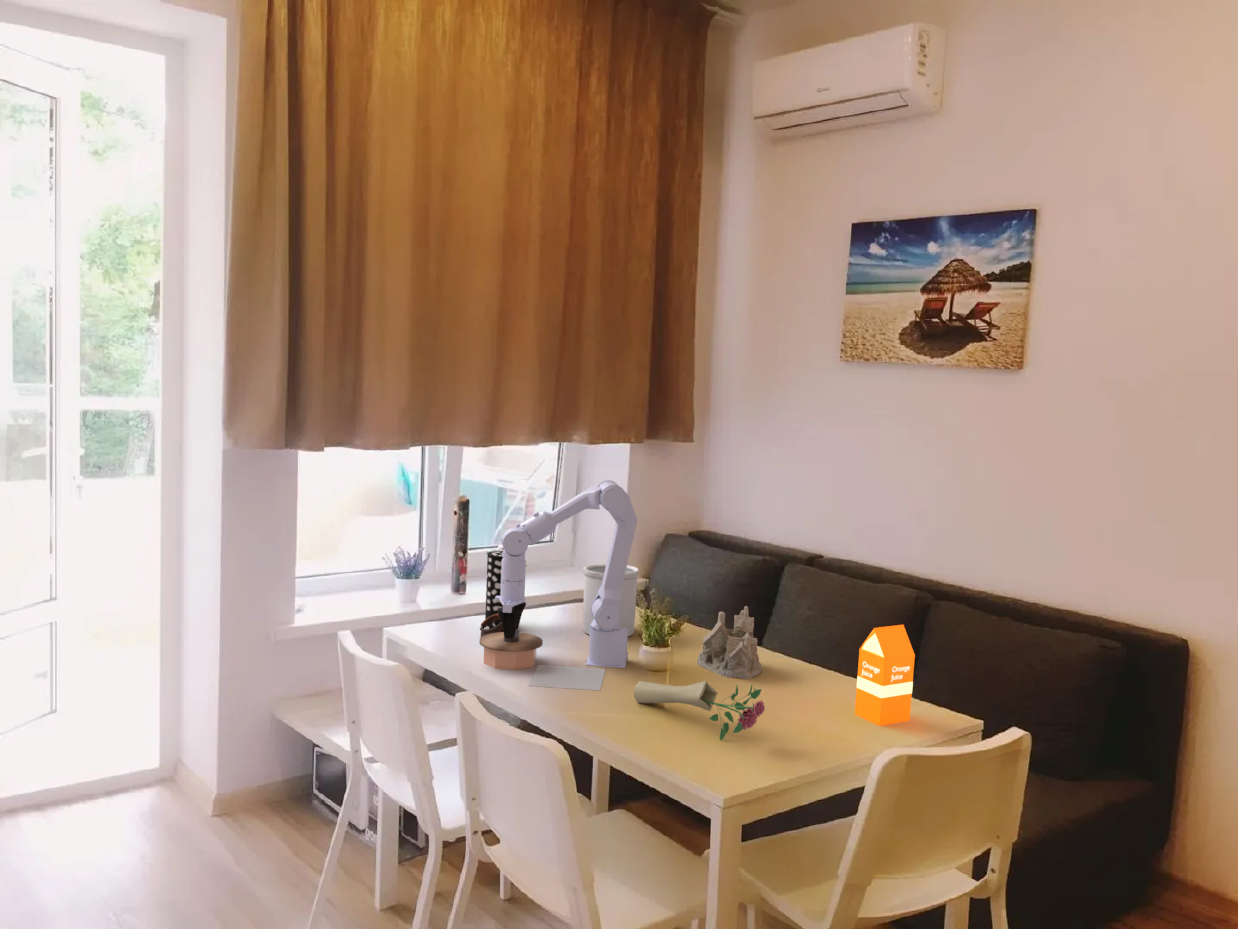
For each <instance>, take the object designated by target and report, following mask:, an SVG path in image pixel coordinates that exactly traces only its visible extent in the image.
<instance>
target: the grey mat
mask: <svg viewBox="0 0 1238 929" xmlns="http://www.w3.org/2000/svg"><path fill="white" fill-rule="evenodd" d="M605 673H606V668H597V667H595V668H592V667H580V666H578V667H577V666H562V665H548V664H538V665H537V668H536V670H535V671H534V673H533V675H532V677H531V680H530V681H529V683H528V686H527V687H536V688H552V689H553V688H555V689H568V690H581V691H583V690H585V691H598V692H600V691H601V688H602V684H603V681H604V677H605Z"/></svg>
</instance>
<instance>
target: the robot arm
mask: <svg viewBox="0 0 1238 929" xmlns="http://www.w3.org/2000/svg"><path fill="white" fill-rule="evenodd" d="M631 500H632V499H631V497H630V496H629V494H628V493H627V492H626V490H624V488H623V487H621V486H620V485H619V484H617V482H615V481H614V480H609V479H606V480H603V481H601V482H600V483H598V484H594V485H592V486H590V487H589V488H586V489H585V490H583V491H582V492H580V493H579V494H576V496H574V497H573V498H571V499H570V500H567V501H566V502H565V503H563V504H562V505H560V506H558V507H557V508H555V509H554V510H552V511H551V512H548V511H543V510H542V511H540V512H539V511H535V512H533V513H532V517H529V518H528V519H527V520H525V521H524V522H522V523H520V522H518V523H515V527H511V528H508V529H506V530H505V531H504V533H503V534H502V537H501V539H500V541H501V544H502V547H503V549H502V551H503V553H502V557H503V559H502V565H501V594H500V596H496V597H495V600H499V601H500V602H501V603H502V606H503V608H498V614H499V616H500V619H501V621H502V626H503V632H504V637H505V638H511V639H513V638H514V636H515V631H516V629H518V630H519V627H520V622H521V619H522V614H523V612H524V610H525V607H526V606H527V602H526V597H525V595H526V593H525V592H526V591H525V590H526V564H527V561H526V551H527V550H528V547H529V546H533V545H535V544H536V543H539V542H540V541H541V540H543V539H545V538H547V537H549V536H550V535H552V534H553V533H555V532H556V529H557V526H558V524H560V523H562V522H564V521H566V520H568V519H569V518H572V517H573V516H575V515H577V514H580V513H581V512H583V511H585V510H587V509H588V510H600V509H601V507H600V505H601V506H602V507H603V509H605V510H606V511H607V512H608V513H609V514H610V515H611V517H612V518H613V520H614V522H615V526H614V528H613V529H614V530H613V534H612V538H611V543H610V547H609V552H608V556H607V560H606V563H605V564H606V568H605V572H604V576H603V581H602V585H601V587H600V588H599V590H598V594H597V596H596V598H595V599H594V600H593V602H592V604H591V607H590V610H591V614H592V616H593V617H594V619H593V621H592V623H591V624H590V635H589V646H588V655H587V659H586V662H585V666H587V667H602V668H603V667H604V668H617V669H620V668H621V669H626V667H627V666H626V665H627V660H628V659H629V651H628V640H629V638H628V637H629V636H628V629H625V628H620V625H619V623H620V621H621V612H620V604H621V589H622V585H623V580H624V576H625V572H626V568H627V565H628V563H629V559H630V554H631V550H632V545H633V541H634V537H635V534H636V533H635V532H636V528H637V525H638V516H637V514H636V512H635V509H634V506H633V503H632V501H631Z"/></svg>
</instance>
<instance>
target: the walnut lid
mask: <svg viewBox="0 0 1238 929" xmlns="http://www.w3.org/2000/svg"><path fill="white" fill-rule="evenodd" d="M478 641H479V644H480V646H481V647H483V648H484V647H485V648H488V649H491V650H496V651H505V652H521V651H529V650H534V649H536V650H537V649H538V648H539V649H540V648H541V647H542V646H543V639H542V638H541V637H540V636H538V635H535V634H532V633H529V632H528V633H527V632H520V630H519V628H518V629H516V631H515V636H514V638H513V639H511V638H505V637H504V632H498V633H491V634H487V635H484V636H482V637H481V638H480V637H479V640H478Z"/></svg>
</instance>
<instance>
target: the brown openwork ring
mask: <svg viewBox="0 0 1238 929" xmlns="http://www.w3.org/2000/svg"><path fill="white" fill-rule="evenodd" d="M493 620H494V624H495V627H493V628H491V629H487V628H486V626H487V625H488V624H490V623H491V622H493ZM479 630H480V635H479V639H480V638H481V637H482V636H484V635H487V634H491V633H498V632H503V626H502V621H501V619H500V616H499V614H494V615H492V616H490V617H488V618H487V619H485V618H484V620H483V621H482V622H481V624H480V628H479Z"/></svg>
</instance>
